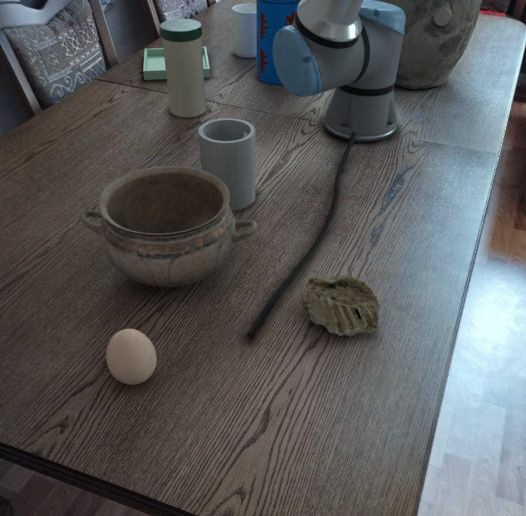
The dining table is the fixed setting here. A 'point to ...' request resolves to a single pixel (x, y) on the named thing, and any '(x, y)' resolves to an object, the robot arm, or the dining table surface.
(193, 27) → the lid
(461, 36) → the clay pot
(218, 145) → the cup
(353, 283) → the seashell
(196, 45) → the jar
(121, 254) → the cooking pot
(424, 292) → the dining table surface
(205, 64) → the tray
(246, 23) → the mug
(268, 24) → the thermos
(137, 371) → the egg
